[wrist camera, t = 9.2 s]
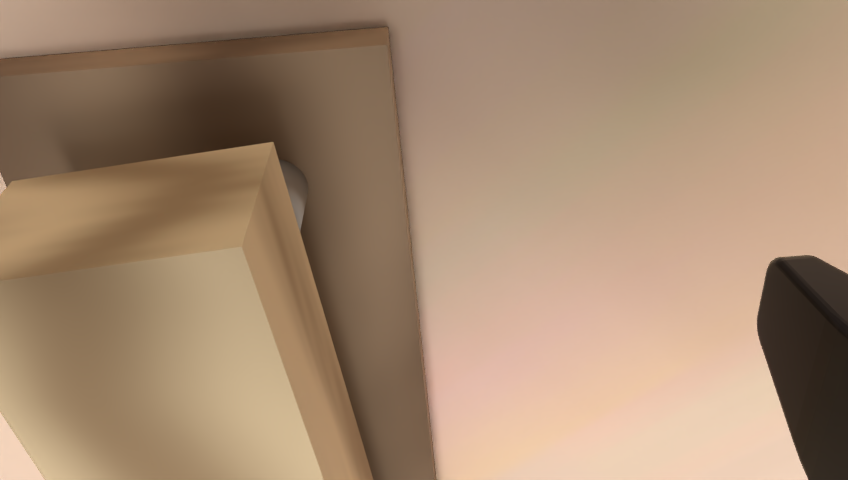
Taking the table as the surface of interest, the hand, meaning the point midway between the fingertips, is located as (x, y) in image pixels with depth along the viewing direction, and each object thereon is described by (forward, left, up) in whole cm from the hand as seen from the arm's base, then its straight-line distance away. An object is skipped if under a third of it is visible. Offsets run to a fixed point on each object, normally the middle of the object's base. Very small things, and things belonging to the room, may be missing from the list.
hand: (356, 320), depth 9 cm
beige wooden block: (+5, +10, -9) cm, 14 cm away
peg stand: (+5, +10, -12) cm, 17 cm away
